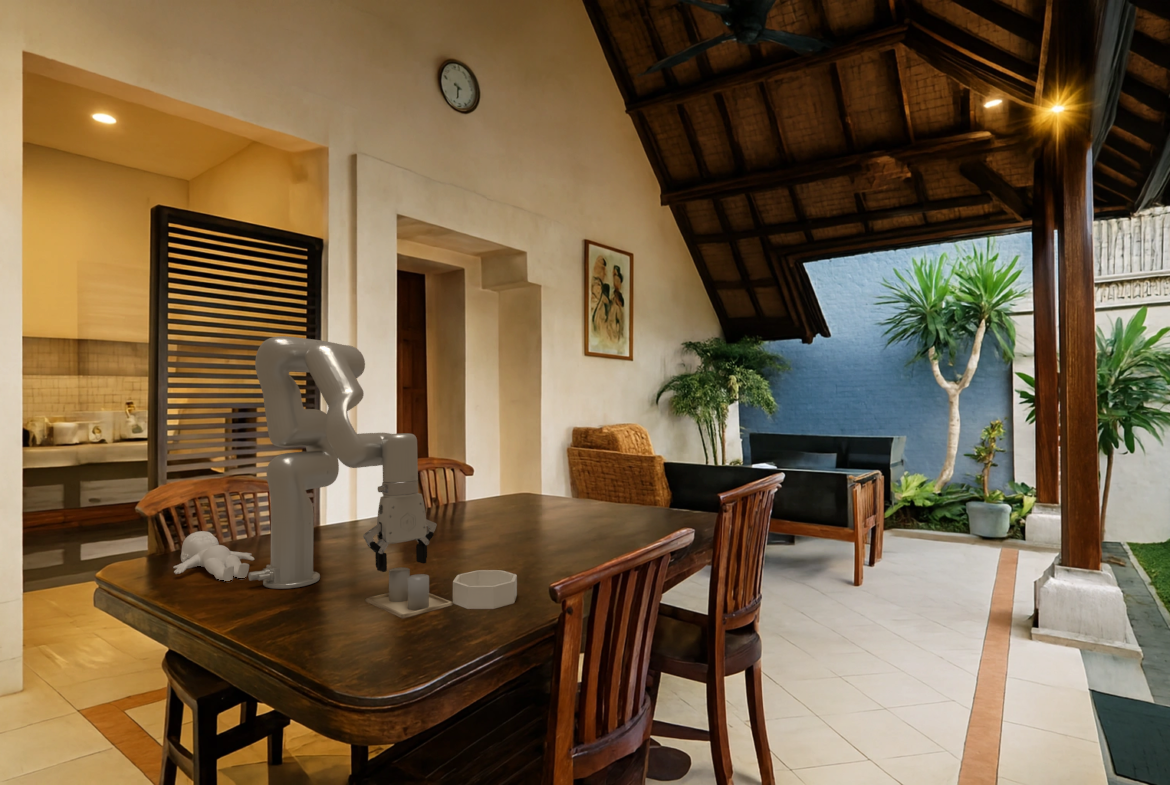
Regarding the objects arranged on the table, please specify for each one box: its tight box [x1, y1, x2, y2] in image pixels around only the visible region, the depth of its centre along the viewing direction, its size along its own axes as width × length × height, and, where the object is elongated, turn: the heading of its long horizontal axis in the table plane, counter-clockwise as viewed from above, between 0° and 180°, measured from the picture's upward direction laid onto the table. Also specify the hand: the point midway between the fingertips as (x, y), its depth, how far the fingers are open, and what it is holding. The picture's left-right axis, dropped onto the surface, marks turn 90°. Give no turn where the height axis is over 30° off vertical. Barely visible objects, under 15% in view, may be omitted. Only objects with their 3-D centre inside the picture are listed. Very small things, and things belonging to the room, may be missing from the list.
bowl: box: [452, 569, 518, 610], centre depth 142 cm, size 13×13×5 cm
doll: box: [172, 530, 255, 582], centre depth 168 cm, size 19×9×30 cm
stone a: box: [388, 566, 411, 602], centre depth 142 cm, size 4×4×6 cm
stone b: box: [408, 573, 430, 610], centre depth 137 cm, size 4×4×6 cm
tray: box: [364, 592, 454, 619], centre depth 139 cm, size 12×16×1 cm
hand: (402, 566), depth 142 cm, fingers open, 9 cm apart
